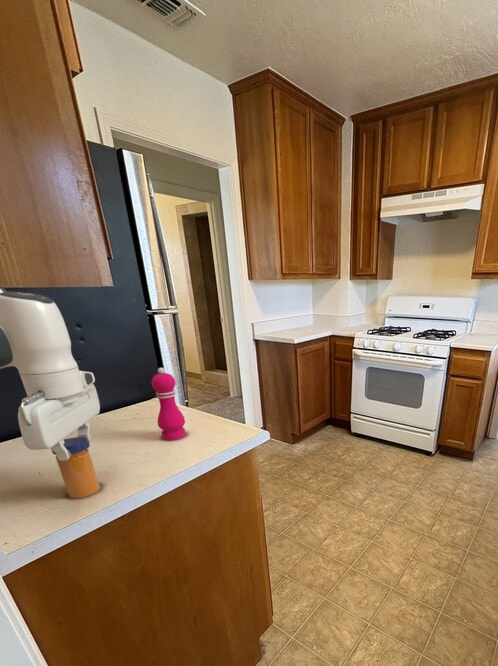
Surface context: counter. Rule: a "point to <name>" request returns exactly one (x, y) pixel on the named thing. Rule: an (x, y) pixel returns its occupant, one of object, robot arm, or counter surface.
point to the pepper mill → (168, 406)
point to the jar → (79, 475)
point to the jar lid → (75, 444)
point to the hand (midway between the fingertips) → (75, 450)
